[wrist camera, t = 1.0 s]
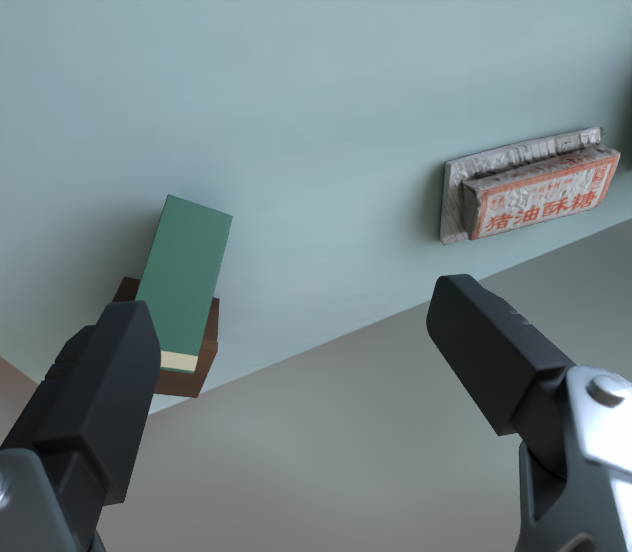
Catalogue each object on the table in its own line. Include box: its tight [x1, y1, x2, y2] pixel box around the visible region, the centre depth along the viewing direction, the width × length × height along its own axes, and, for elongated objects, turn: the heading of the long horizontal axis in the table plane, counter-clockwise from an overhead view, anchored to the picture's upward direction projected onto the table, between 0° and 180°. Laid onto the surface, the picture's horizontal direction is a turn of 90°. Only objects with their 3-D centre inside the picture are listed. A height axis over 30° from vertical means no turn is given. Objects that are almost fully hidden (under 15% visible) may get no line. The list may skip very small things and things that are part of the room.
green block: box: [134, 194, 233, 374], centre depth 29 cm, size 13×6×13 cm, turn 154°
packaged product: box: [440, 127, 621, 245], centre depth 36 cm, size 18×5×10 cm
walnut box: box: [112, 277, 219, 398], centre depth 34 cm, size 7×10×8 cm
